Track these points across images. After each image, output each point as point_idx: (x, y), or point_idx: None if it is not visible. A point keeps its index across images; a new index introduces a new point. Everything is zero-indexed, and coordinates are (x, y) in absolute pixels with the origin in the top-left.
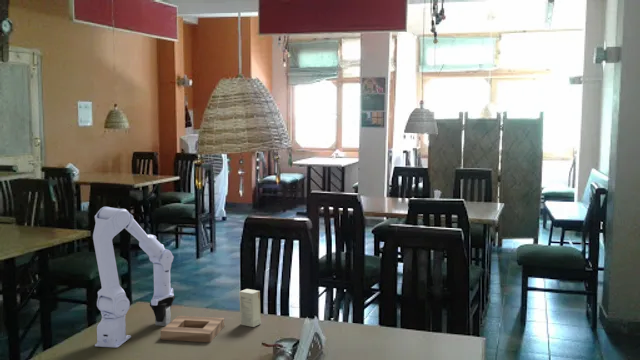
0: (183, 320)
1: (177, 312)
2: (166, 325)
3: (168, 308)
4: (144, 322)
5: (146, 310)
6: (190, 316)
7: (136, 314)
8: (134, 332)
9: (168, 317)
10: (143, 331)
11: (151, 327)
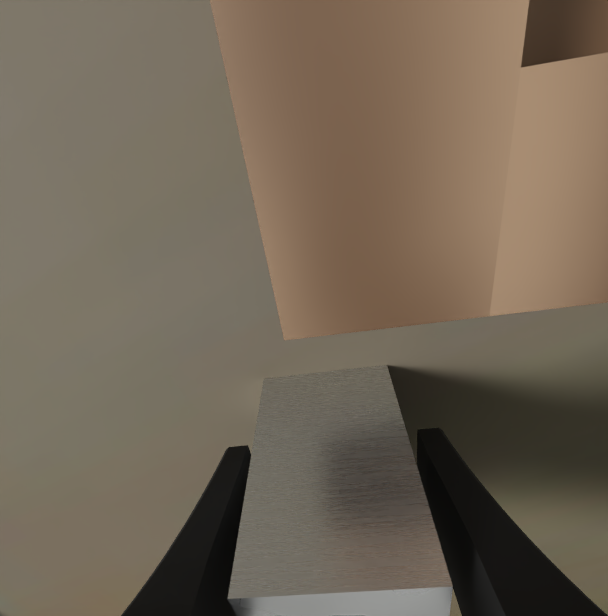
0: (551, 84)
1: (7, 440)
2: (378, 367)
3: (322, 568)
4: None
5: (128, 595)
6: (236, 63)
7: None
8: (581, 498)
9: (323, 429)
10: (560, 459)
11: None
